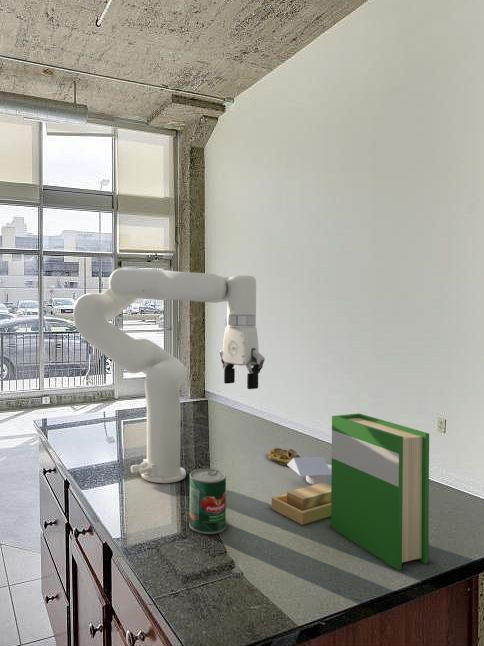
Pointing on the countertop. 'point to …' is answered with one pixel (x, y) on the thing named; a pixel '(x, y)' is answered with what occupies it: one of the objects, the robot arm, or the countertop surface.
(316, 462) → the wedge on round base
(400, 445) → the hardback book
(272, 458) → the yellow-brown textured oval
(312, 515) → the holder
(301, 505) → the eraser
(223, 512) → the canned tomato
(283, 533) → the countertop surface
